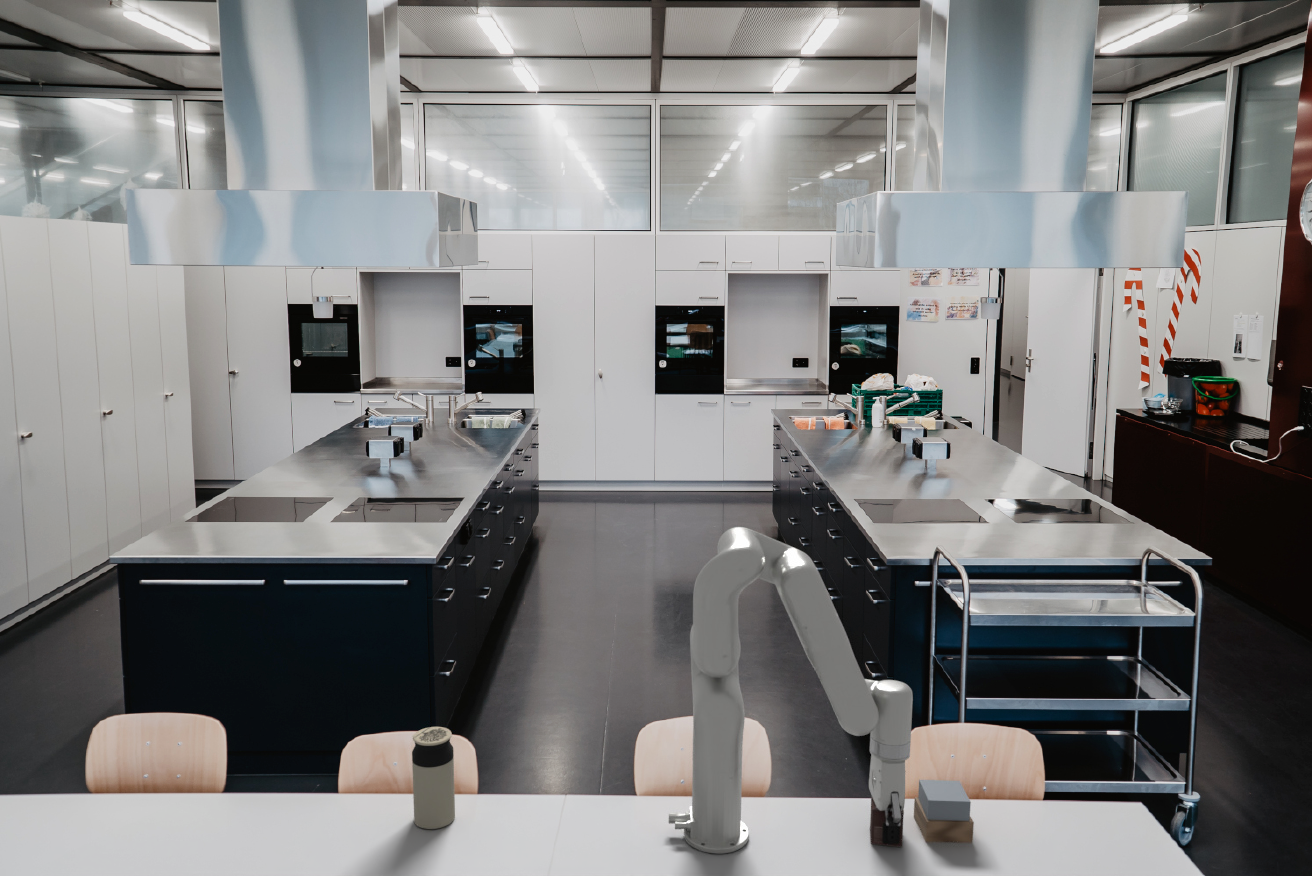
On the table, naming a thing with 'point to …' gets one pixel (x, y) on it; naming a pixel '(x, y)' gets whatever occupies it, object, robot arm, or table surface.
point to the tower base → (942, 828)
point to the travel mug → (433, 778)
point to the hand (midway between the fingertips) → (886, 831)
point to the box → (881, 825)
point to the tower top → (944, 800)
